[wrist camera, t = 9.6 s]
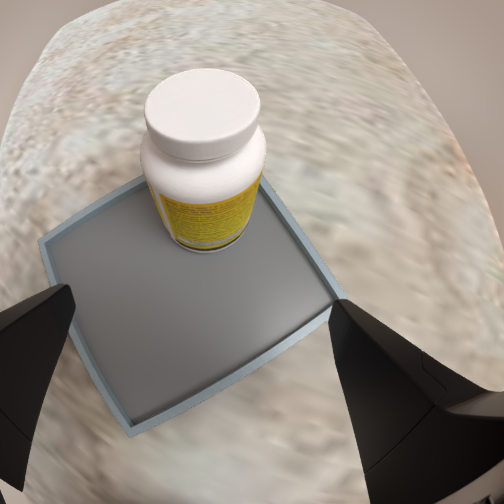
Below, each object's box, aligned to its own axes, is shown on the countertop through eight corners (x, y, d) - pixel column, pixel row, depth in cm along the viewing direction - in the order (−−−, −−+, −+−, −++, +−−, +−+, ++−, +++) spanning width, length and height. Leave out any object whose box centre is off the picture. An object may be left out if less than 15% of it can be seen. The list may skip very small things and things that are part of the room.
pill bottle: (266, 213, 21) (310, 104, 10) (207, 273, 19) (197, 193, 8) (206, 164, 21) (207, 46, 11) (147, 215, 19) (98, 108, 9)
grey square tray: (144, 421, 18) (129, 438, 14) (61, 256, 21) (37, 240, 17) (327, 308, 23) (350, 301, 19) (228, 163, 26) (230, 134, 22)
